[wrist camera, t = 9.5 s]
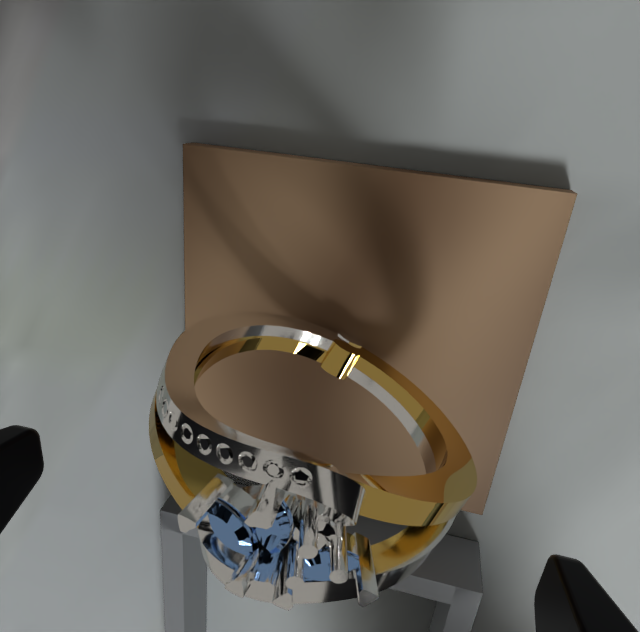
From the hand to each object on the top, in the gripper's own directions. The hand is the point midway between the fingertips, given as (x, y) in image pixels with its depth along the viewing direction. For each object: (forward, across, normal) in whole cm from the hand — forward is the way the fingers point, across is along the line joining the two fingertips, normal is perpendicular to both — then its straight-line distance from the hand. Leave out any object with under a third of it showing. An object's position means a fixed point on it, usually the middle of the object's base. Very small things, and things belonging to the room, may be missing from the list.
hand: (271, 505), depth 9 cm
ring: (+7, 0, 0) cm, 7 cm away
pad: (+7, 0, 0) cm, 7 cm away
